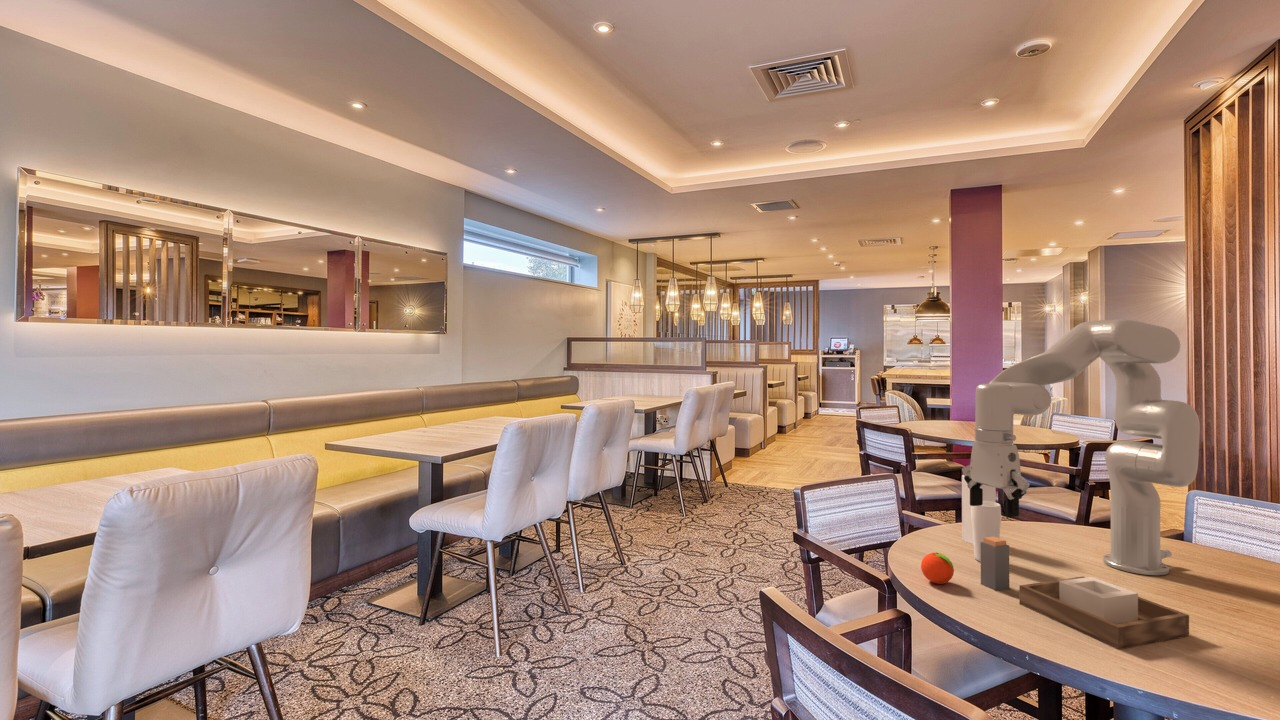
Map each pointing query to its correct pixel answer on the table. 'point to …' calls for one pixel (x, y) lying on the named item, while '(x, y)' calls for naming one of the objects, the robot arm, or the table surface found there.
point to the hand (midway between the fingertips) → (993, 510)
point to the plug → (995, 563)
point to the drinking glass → (985, 524)
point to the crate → (1147, 629)
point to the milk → (988, 495)
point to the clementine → (937, 568)
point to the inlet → (1100, 599)
